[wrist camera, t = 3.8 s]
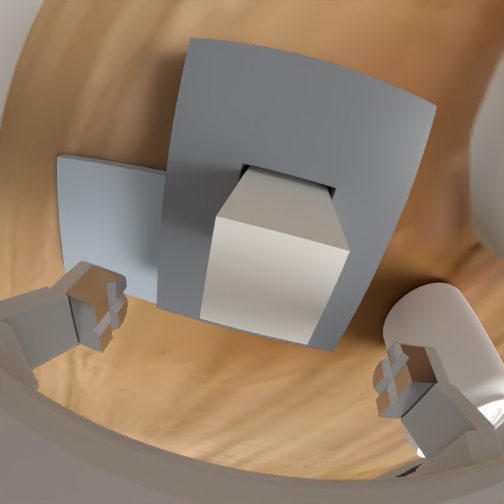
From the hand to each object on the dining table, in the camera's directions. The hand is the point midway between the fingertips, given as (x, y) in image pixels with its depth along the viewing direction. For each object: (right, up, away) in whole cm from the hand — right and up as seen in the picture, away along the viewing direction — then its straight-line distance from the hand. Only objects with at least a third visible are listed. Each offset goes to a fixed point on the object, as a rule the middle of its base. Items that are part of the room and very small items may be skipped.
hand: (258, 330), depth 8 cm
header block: (+2, +6, +11) cm, 13 cm away
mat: (-12, +4, +14) cm, 19 cm away
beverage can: (+15, -3, +14) cm, 21 cm away
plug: (+2, +6, +10) cm, 12 cm away
